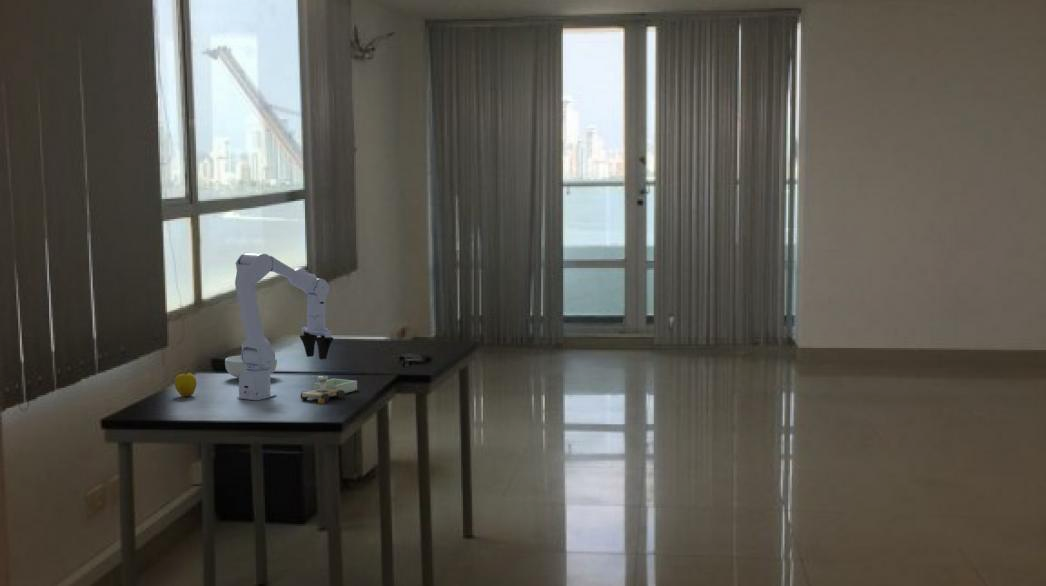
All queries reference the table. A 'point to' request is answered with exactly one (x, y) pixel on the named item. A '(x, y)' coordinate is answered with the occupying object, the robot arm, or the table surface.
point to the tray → (339, 385)
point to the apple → (185, 384)
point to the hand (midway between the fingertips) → (316, 357)
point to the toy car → (322, 394)
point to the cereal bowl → (240, 366)
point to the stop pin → (322, 383)
